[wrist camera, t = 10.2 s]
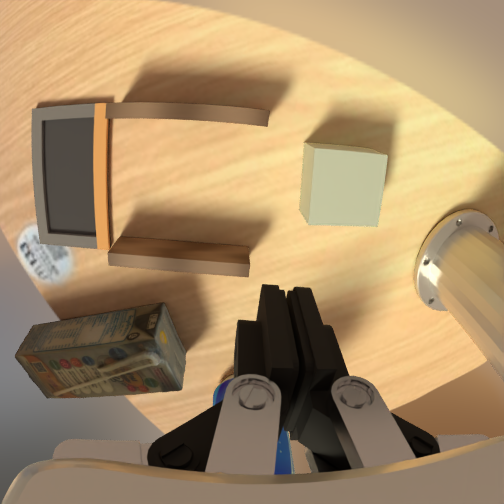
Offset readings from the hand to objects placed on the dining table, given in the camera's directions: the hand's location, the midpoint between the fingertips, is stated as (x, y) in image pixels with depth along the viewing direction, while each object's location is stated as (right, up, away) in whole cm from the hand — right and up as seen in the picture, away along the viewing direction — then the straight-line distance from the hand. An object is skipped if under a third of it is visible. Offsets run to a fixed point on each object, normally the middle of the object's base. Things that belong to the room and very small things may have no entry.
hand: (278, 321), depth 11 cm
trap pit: (-18, +9, +14) cm, 24 cm away
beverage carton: (-18, -8, +23) cm, 30 cm away
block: (+6, +9, +16) cm, 20 cm away
